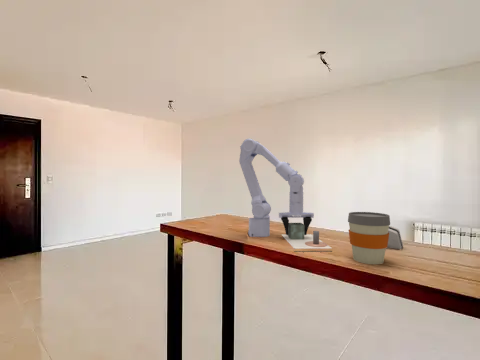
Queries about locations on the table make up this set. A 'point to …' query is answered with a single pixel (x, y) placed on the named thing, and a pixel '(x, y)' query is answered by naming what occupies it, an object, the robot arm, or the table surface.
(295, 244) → the post board
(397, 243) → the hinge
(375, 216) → the reusable coffee cup
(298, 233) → the collar
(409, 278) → the table surface
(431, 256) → the table surface
